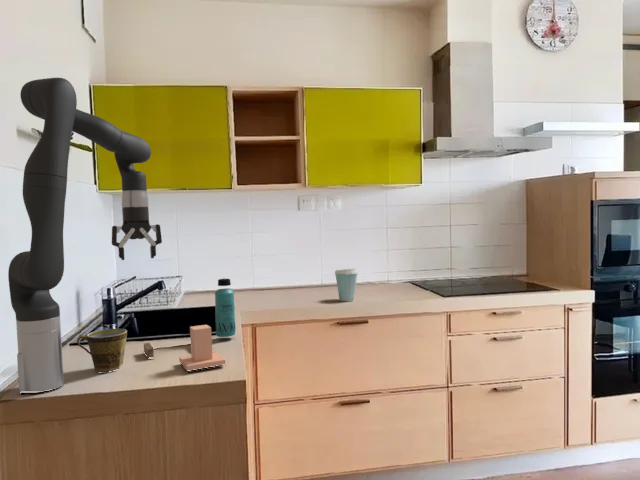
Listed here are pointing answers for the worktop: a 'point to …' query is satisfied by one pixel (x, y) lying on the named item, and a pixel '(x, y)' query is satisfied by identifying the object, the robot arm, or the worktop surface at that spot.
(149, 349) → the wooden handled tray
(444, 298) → the worktop surface
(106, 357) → the ceramic cup
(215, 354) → the footed block
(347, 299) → the disposable coffee cup
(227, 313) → the beverage bottle
